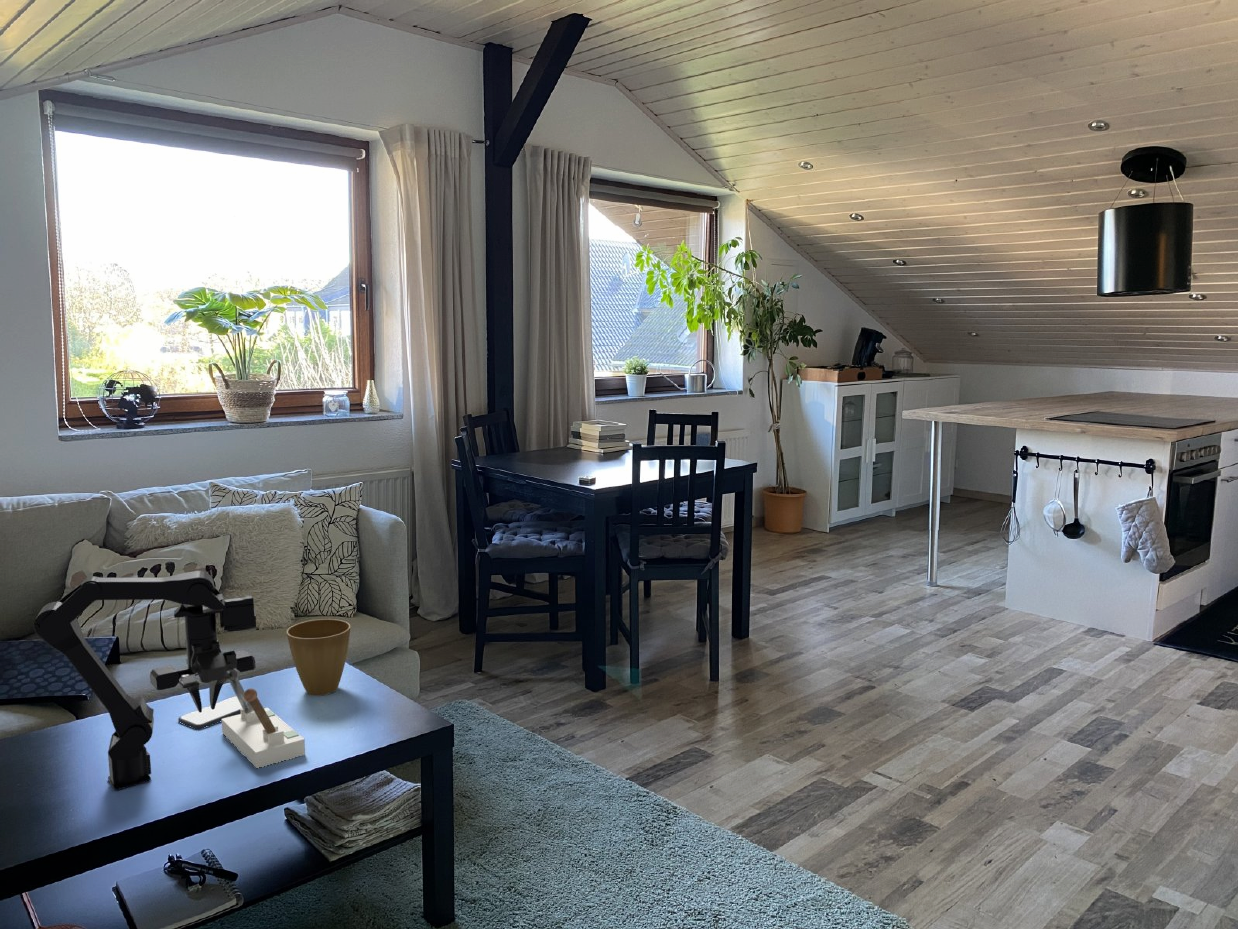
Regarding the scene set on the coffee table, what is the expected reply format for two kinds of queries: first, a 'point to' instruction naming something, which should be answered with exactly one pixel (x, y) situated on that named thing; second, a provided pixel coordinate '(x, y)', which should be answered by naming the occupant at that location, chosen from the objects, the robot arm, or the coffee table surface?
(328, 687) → the plant pot
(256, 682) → the coffee table surface
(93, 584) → the robot arm
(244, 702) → the grey lever
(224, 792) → the coffee table surface
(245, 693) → the walnut lever
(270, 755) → the switch panel
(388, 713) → the coffee table surface
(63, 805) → the coffee table surface
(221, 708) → the phone case
